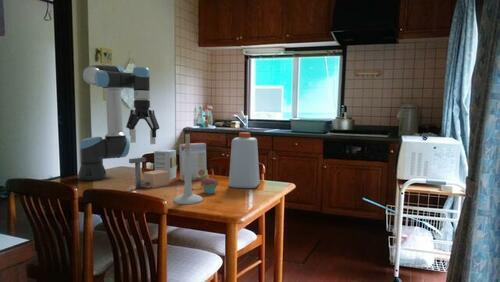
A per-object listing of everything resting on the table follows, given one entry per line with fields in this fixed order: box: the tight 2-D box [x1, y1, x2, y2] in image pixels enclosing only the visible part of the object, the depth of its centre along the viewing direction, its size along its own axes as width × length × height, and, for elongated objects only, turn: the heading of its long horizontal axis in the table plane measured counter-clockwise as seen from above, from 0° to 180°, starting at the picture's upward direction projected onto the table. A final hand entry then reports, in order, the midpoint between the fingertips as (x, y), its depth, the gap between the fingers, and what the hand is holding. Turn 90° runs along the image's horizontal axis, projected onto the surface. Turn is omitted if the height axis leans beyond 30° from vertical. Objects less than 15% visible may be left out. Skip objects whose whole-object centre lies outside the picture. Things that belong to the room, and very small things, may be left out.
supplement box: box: [153, 149, 177, 181], centre depth 208 cm, size 10×9×17 cm
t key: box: [128, 156, 149, 190], centre depth 181 cm, size 2×10×15 cm, turn 141°
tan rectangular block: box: [142, 170, 171, 189], centre depth 189 cm, size 8×12×7 cm
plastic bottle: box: [228, 131, 261, 189], centre depth 195 cm, size 15×15×28 cm
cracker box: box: [178, 142, 207, 182], centre depth 207 cm, size 14×6×21 cm, turn 115°
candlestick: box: [173, 133, 204, 205], centre depth 163 cm, size 13×13×30 cm
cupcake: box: [200, 168, 219, 194], centre depth 180 cm, size 9×8×12 cm
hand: (142, 143), depth 181 cm, fingers open, 13 cm apart
